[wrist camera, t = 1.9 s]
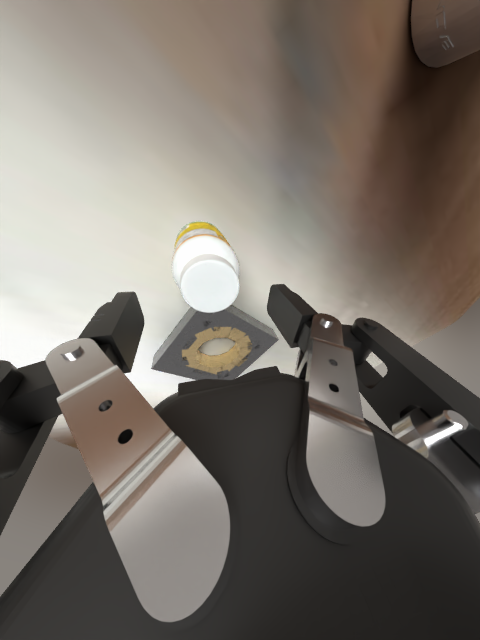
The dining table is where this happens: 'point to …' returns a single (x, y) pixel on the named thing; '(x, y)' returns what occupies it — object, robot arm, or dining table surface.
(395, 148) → the dining table surface
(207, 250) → the supplement bottle
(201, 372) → the mount plate
